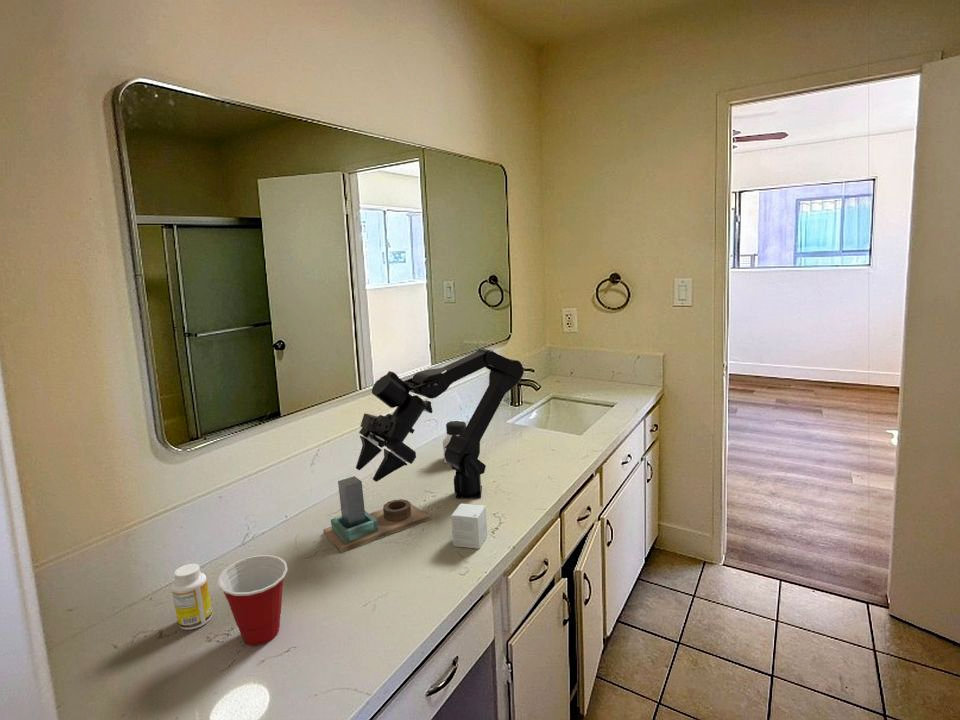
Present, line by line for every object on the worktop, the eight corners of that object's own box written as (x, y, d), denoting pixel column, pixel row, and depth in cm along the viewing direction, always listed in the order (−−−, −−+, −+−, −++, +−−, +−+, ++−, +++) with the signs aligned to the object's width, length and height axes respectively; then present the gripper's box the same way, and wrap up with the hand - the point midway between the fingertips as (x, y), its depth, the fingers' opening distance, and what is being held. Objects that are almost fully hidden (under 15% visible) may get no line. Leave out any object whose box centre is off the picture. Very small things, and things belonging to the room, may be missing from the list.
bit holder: (407, 504, 142) (406, 491, 141) (429, 519, 133) (428, 505, 132) (323, 533, 129) (322, 519, 128) (342, 552, 120) (340, 537, 120)
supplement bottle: (204, 607, 103) (196, 557, 102) (218, 618, 100) (210, 567, 98) (173, 623, 99) (163, 571, 97) (186, 636, 96) (176, 582, 94)
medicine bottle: (467, 463, 167) (464, 425, 164) (444, 463, 168) (441, 425, 166) (472, 455, 174) (469, 418, 171) (449, 454, 175) (447, 418, 173)
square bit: (359, 524, 130) (354, 476, 128) (366, 530, 127) (361, 481, 125) (343, 529, 128) (337, 481, 126) (350, 536, 125) (344, 486, 123)
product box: (488, 535, 124) (486, 505, 122) (479, 550, 118) (477, 518, 117) (462, 532, 126) (460, 502, 124) (452, 546, 120) (450, 515, 119)
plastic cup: (255, 666, 88) (244, 597, 85) (214, 644, 93) (203, 579, 91) (309, 625, 97) (300, 563, 94) (268, 607, 102) (260, 548, 100)
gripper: (362, 393, 135) (324, 447, 131) (399, 407, 120) (356, 469, 116) (394, 417, 141) (358, 469, 137) (433, 433, 126) (393, 493, 122)
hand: (365, 474), depth 128 cm, fingers open, 9 cm apart
